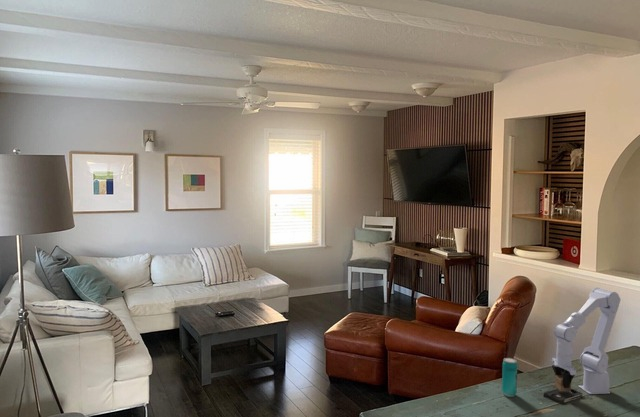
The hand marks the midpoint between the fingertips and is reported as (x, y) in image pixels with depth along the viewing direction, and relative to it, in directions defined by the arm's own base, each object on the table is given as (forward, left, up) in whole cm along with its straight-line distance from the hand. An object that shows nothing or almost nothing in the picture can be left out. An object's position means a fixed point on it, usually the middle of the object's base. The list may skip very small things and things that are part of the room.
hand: (562, 385), depth 209 cm
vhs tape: (0, +1, -5) cm, 5 cm away
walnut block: (0, 0, -2) cm, 2 cm away
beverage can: (+22, -3, -5) cm, 23 cm away
